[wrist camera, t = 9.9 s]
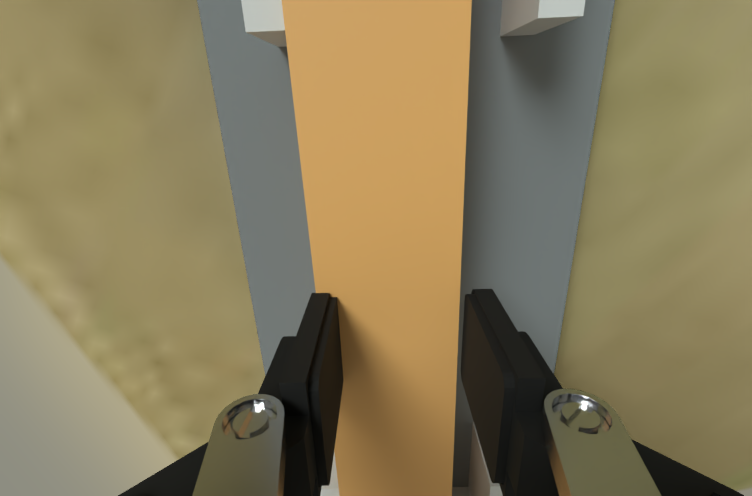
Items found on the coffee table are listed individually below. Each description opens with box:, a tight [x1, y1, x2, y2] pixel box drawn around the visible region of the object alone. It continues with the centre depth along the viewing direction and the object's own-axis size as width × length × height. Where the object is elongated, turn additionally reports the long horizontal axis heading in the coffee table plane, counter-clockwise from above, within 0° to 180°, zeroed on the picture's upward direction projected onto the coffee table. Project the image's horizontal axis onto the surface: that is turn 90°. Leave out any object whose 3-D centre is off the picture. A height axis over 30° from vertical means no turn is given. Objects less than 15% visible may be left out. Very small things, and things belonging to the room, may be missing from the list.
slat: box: [282, 0, 472, 496], centre depth 13 cm, size 22×4×4 cm, turn 3°
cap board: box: [197, 0, 615, 496], centre depth 14 cm, size 25×12×4 cm, turn 2°
